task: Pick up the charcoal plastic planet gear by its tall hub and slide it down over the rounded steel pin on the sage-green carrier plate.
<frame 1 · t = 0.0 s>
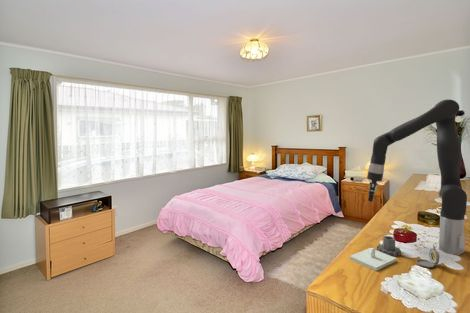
hand: (370, 199, 146), 22 cm above the dresser, tool pointing down, fingers open, 8 cm apart
pocket watch: (427, 265, 116), on the dresser
planet gear: (388, 251, 131), on the dresser
carrier plate: (372, 260, 122), on the dresser
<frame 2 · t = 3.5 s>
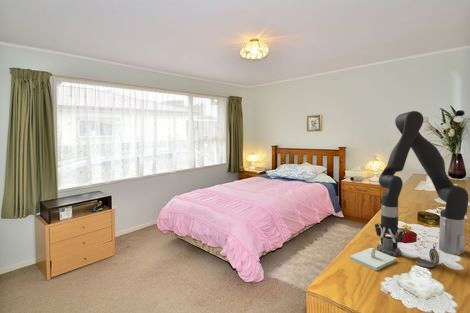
hand: (388, 246, 130), 2 cm above the dresser, tool pointing down, fingers closed on planet gear, 5 cm apart
planet gear: (388, 251, 131), on the dresser, touching gripper
everything else where it was.
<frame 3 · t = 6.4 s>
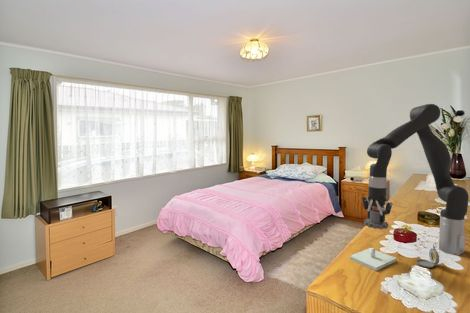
hand: (375, 220, 124), 18 cm above the dresser, tool pointing down, fingers closed on planet gear, 5 cm apart
planet gear: (375, 225, 124), point 16 cm above the dresser, touching gripper
everything else where it was.
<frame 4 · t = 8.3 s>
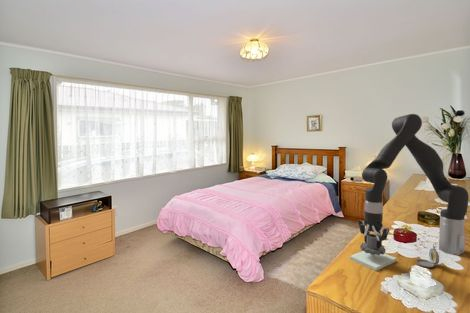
hand: (372, 245, 122), 7 cm above the dresser, tool pointing down, fingers closed on planet gear, 5 cm apart
planet gear: (372, 250, 122), point 5 cm above the dresser, touching gripper
everything else where it was.
when the fingers open (5 cm above the dresser, at t = 9.6 s): planet gear stays where it is, resting on carrier plate.
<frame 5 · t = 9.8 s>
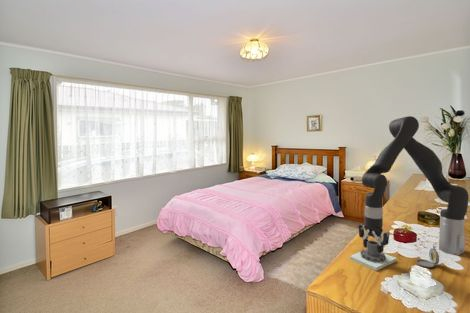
hand: (372, 249, 122), 5 cm above the dresser, tool pointing down, fingers open, 6 cm apart
planet gear: (372, 257, 122), point 1 cm above the dresser, touching carrier plate
everything else where it was.
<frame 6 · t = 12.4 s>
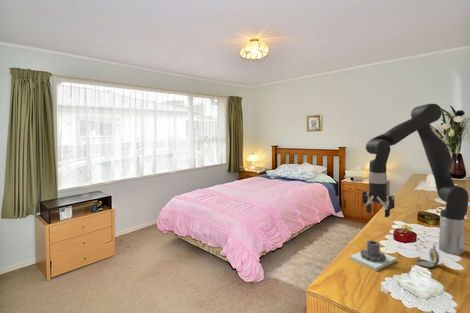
hand: (377, 214, 123), 21 cm above the dresser, tool pointing down, fingers open, 8 cm apart
nothing on the dresser moved.
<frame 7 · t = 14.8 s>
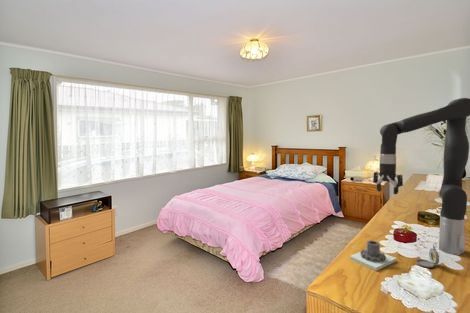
hand: (387, 192, 137), 28 cm above the dresser, tool pointing down, fingers open, 8 cm apart
nothing on the dresser moved.
at the end: planet gear 0.0 cm off-centre on the carrier plate, point 1.5 cm above the carrier plate's base; planet gear tilted 0°; the gripper is holding nothing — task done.
